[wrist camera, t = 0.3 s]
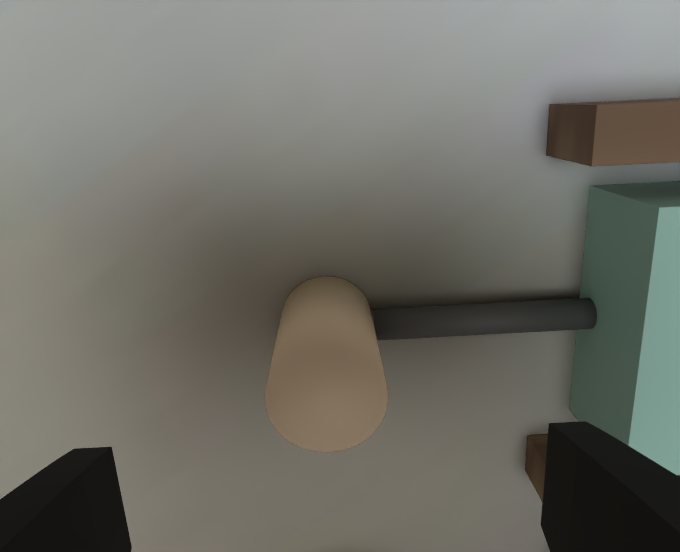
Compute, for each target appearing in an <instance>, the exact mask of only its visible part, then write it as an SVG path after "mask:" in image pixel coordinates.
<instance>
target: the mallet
mask: <svg viewBox="0 0 680 552" xmlns="http://www.w3.org/2000/svg"><path fill="white" fill-rule="evenodd" d="M560 330H576V341H575V352H574V363H573V374H572V385H571V396H570V407H569V409H570V410H571V412H572V413H573V414H574V415H575V417H576V418H577V419H578V421H579V422H583V421H586V422H588V423H590V424H592V425H594V426H596V427H598V428H599V429H601V430H603V431H605V432H606V433H608V434H610V435H612V436H613V437H615V438H617V439H618V440H620V441H622V442H623V443H625V444H626V445H628V446H630V447H631V448H633V449H635V450H636V451H638V452H640V453H641V454H643V455H644V456H646V457H648V458H649V459H651V460H653V461H654V462H656V463H658V464H659V465H661V466H662V467H664V468H666V469H667V470H669V471H671V472H672V473H674V474H676V475H680V181H671V182H652V183H632V184H613V185H594V186H590V187H589V198H588V209H587V220H586V231H585V242H584V253H583V264H582V275H581V286H580V297H579V298H576V299H557V300H538V301H520V302H501V303H482V304H463V305H444V306H426V307H407V308H388V309H371V310H370V306H369V303H368V301H367V299H366V297H365V296H364V294H363V293H362V292H361V291H360V290H359V289H358V288H357V287H356V286H355V285H353V284H352V283H350V282H348V281H346V280H344V279H341V278H337V277H330V276H323V277H317V278H312V279H310V280H307V281H305V282H303V283H302V284H300V285H299V286H297V287H296V288H295V289H294V290H293V291H292V292H291V293H290V295H289V296H288V298H287V299H286V301H285V304H284V307H283V310H282V315H281V320H280V324H279V329H278V334H277V338H276V343H275V348H274V352H273V357H272V362H271V366H270V371H269V376H268V380H267V385H266V391H265V406H266V411H267V414H268V417H269V419H270V421H271V423H272V424H273V426H274V427H275V429H276V430H277V431H278V432H279V433H280V434H281V435H282V436H283V437H284V438H285V439H286V440H288V441H289V442H291V443H292V444H294V445H296V446H298V447H301V448H304V449H306V450H310V451H315V452H337V451H342V450H346V449H349V448H352V447H354V446H356V445H358V444H360V443H361V442H363V441H365V440H366V439H367V438H368V437H370V436H371V435H372V434H373V433H374V432H375V431H376V430H377V428H378V427H379V425H380V424H381V422H382V420H383V418H384V416H385V413H386V410H387V405H388V389H387V384H386V380H385V375H384V370H383V366H382V361H381V356H380V352H379V347H378V342H377V340H392V339H411V338H430V337H448V336H467V335H485V334H504V333H523V332H541V331H560Z"/></svg>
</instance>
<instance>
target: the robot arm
mask: <svg viewBox="0 0 680 552" xmlns="http://www.w3.org/2000/svg"><path fill="white" fill-rule="evenodd" d="M541 527H542V530H543V532H544V535H545V538H546V541H547V543H548V546H549V549H550V552H680V477H679V476H677V475H676V474H674V473H672V472H671V471H669V470H667V469H666V468H664V467H662V466H661V465H659V464H658V463H656V462H654V461H653V460H651V459H649V458H648V457H646V456H644V455H643V454H641V453H640V452H638V451H636V450H635V449H633V448H631V447H630V446H628V445H626V444H625V443H623V442H622V441H620V440H618V439H617V438H615V437H613V436H612V435H610V434H608V433H606V432H605V431H603V430H601V429H599V428H598V427H596V426H594V425H592V424H590V423H588V422H586V421H583V422H564V423H549V428H548V441H547V453H546V466H545V479H544V491H543V504H542V517H541ZM131 548H132V547H131V542H130V537H129V532H128V527H127V522H126V517H125V512H124V507H123V502H122V497H121V492H120V487H119V482H118V477H117V472H116V467H115V462H114V457H113V452H112V447H99V448H80V449H73V450H72V451H70V452H68V453H67V454H65V455H63V456H62V457H60V458H59V459H57V460H56V461H54V462H53V463H51V464H50V465H48V466H47V467H45V468H44V469H43V470H41V471H40V472H38V473H37V474H35V475H34V476H33V477H31V478H30V479H28V480H27V481H25V482H24V483H23V484H21V485H20V486H18V487H17V488H16V489H14V490H13V491H11V492H10V493H9V494H7V495H6V496H4V497H3V498H2V499H0V552H131Z"/></svg>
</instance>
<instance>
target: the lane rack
mask: <svg viewBox="0 0 680 552" xmlns="http://www.w3.org/2000/svg"><path fill="white" fill-rule="evenodd" d="M547 156H551V157H555V158H559V159H563V160H567V161H572V162H576V163H580V164H584V165H588V166H608V165H628V164H648V163H668V162H680V98H669V99H649V100H629V101H608V102H588V103H568V104H550V110H549V125H548V140H547ZM547 441H548V435H531V436H528V438H527V453H526V468H525V471H526V473H527V474H528V476H529V478H530V480H531V482H532V484H533V486H534V487H535V489H536V491H537V493H538V495H539V497H540V499H541V500H542V502H543V491H544V479H545V466H546V453H547ZM677 476H679V477H680V475H677Z"/></svg>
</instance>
